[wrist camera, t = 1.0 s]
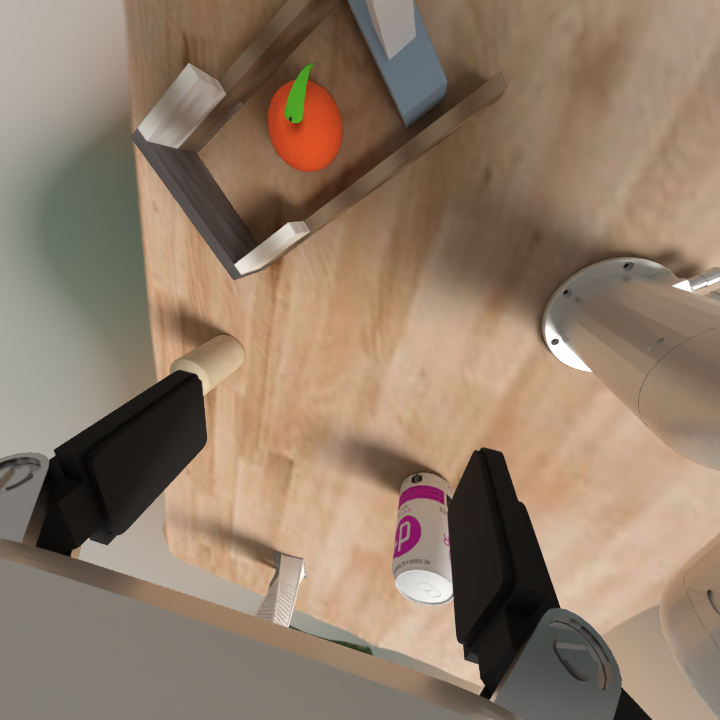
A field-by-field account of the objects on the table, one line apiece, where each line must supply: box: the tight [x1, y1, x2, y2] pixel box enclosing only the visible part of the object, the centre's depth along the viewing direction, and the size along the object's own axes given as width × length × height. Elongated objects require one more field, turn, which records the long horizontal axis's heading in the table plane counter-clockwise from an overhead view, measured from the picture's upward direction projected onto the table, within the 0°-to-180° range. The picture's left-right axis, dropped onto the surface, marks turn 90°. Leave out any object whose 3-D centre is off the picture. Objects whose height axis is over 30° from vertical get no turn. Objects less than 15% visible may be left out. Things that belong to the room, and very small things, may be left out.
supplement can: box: [392, 473, 453, 606], centre depth 43 cm, size 8×8×15 cm
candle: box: [170, 335, 245, 396], centre depth 42 cm, size 6×6×10 cm
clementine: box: [268, 63, 343, 172], centre depth 28 cm, size 8×7×7 cm
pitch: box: [131, 0, 507, 280], centre depth 28 cm, size 30×15×7 cm, turn 122°
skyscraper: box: [254, 552, 306, 627], centre depth 56 cm, size 8×8×28 cm
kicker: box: [347, 0, 447, 129], centre depth 22 cm, size 4×10×12 cm, turn 32°
